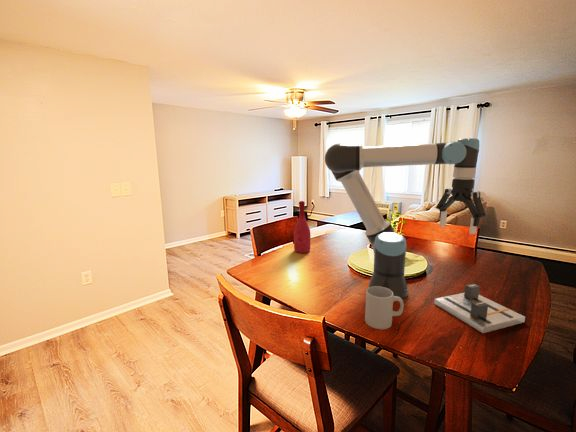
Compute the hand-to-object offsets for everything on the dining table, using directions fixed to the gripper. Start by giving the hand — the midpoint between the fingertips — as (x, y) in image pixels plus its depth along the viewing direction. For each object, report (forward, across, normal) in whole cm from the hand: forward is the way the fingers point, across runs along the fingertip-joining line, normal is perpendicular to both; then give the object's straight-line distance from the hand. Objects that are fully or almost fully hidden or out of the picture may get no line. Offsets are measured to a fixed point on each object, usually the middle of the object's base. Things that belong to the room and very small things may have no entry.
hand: (456, 229), depth 116 cm
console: (+24, -21, +12) cm, 34 cm away
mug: (+25, -13, +46) cm, 54 cm away
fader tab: (+21, -15, +8) cm, 27 cm away
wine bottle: (+26, +64, +41) cm, 81 cm away
